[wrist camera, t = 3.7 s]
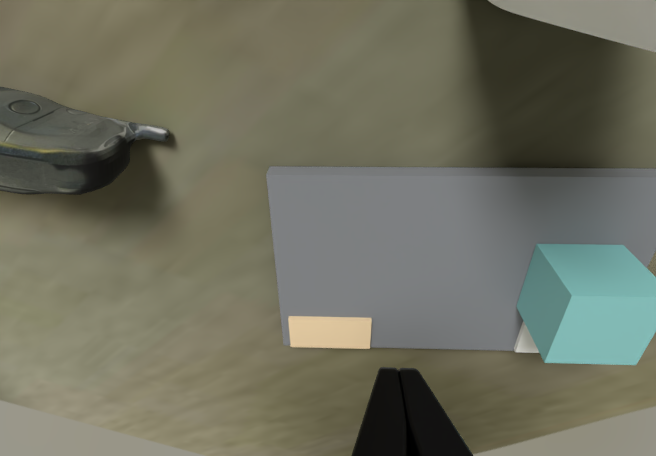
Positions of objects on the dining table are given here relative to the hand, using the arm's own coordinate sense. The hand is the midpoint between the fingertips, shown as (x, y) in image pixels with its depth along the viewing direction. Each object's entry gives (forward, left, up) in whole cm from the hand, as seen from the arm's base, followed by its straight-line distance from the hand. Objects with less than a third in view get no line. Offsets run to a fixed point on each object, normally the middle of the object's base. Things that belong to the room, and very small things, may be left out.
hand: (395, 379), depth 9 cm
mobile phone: (+17, -2, -13) cm, 22 cm away
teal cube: (-11, +7, -12) cm, 18 cm away
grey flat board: (-5, +7, -13) cm, 15 cm away
